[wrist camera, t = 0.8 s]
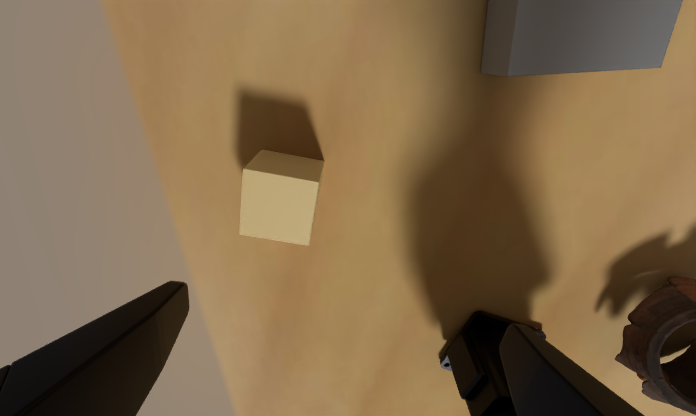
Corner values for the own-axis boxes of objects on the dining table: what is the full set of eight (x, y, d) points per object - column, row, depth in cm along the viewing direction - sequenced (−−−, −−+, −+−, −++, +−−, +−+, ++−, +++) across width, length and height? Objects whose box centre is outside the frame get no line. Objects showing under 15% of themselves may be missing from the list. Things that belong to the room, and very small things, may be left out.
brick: (324, 160, 21) (318, 182, 17) (315, 215, 22) (308, 245, 19) (262, 148, 20) (243, 168, 17) (257, 205, 22) (239, 234, 18)
